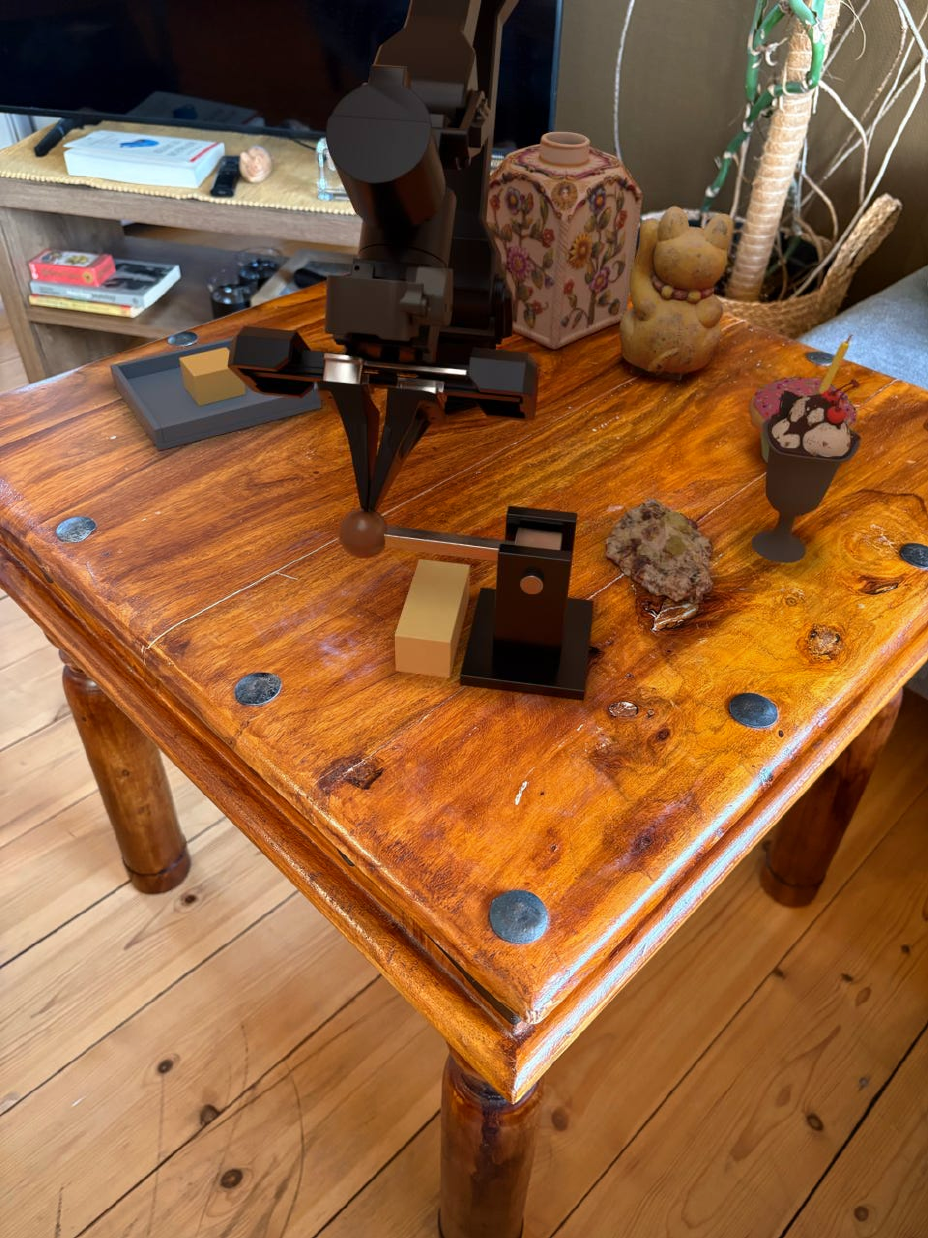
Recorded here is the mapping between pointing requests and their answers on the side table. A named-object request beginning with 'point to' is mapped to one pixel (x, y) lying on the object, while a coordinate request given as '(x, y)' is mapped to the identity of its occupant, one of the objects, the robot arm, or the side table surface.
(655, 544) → the mineral rock
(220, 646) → the side table surface
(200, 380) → the butter pat
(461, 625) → the tan rectangular block
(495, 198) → the decorative jar
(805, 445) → the sundae
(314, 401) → the dish
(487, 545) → the lever
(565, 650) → the slicer
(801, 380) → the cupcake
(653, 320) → the decorative figurine
